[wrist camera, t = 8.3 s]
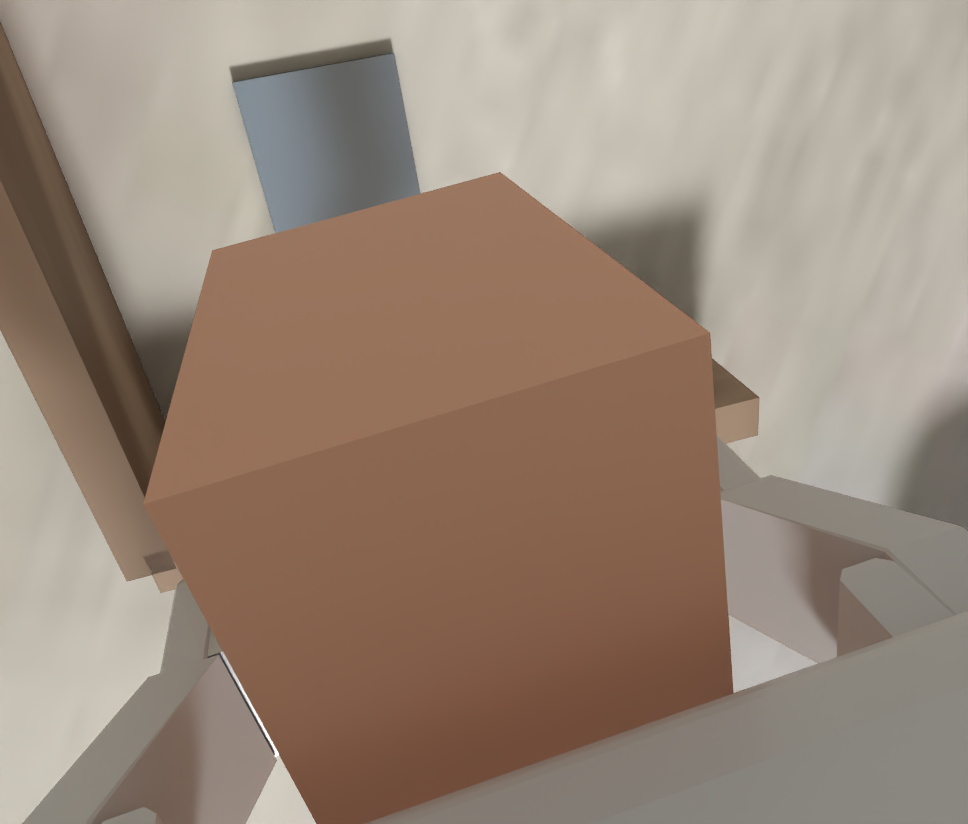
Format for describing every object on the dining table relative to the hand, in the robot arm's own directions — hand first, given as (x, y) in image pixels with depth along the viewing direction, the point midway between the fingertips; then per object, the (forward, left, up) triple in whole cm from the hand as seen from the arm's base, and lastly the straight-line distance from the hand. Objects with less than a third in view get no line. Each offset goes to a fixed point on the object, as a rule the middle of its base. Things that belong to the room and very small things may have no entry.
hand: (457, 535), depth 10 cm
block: (0, 0, -2) cm, 2 cm away
